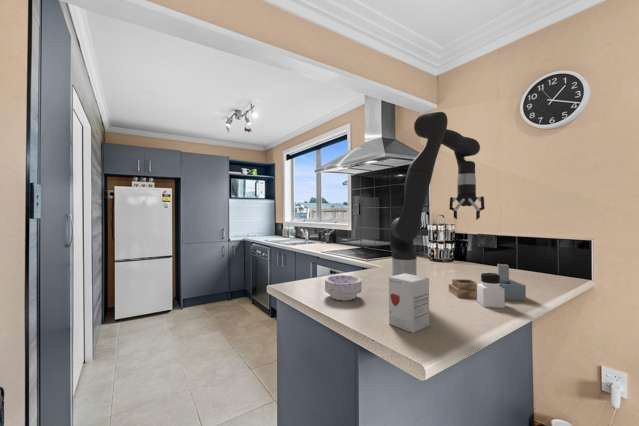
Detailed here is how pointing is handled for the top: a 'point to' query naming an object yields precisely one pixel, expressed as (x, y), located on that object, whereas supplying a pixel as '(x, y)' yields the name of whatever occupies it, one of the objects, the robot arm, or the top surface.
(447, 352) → the top surface
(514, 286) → the bin
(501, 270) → the strut
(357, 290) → the pale lilac bowl
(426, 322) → the supplement box
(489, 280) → the medicine bottle
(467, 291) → the socket block
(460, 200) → the robot arm
